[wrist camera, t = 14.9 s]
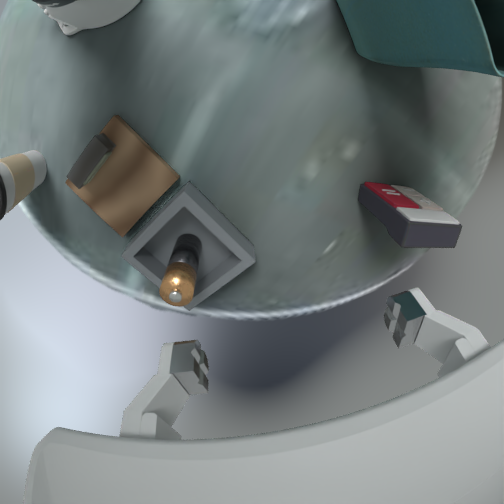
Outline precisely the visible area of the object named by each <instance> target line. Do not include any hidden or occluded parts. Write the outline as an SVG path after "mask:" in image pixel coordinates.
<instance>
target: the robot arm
mask: <svg viewBox="0 0 504 504" xmlns="http://www.w3.org/2000/svg"><path fill="white" fill-rule="evenodd" d="M32 1H34V2H36V3H37V4H38V6H39V7H41V8H42V9H45V10H44V13H45V14H47V15H49V17H50V18H51V19H53V20H56V21H57V23H58V24H59V26H60V28H61V30H62V31H63V33H64V34H66V35H68V36H69V35H72V34H75V33H77V32H79V31H81V30H83V29H91V28H98V27H102V26H105V25H108V24H110V23H112V22H115V21H116V20H118V19H120V18H121V17H123V16H124V15H126V14H127V13H128V12H130V11H131V10H132V9H133V8H134V7H135V6H136V5H137V4H138V3H139V2H140V1H141V0H32ZM67 25H68V26H67ZM386 304H387V305H388V307H387V309H386V310H385V313H384V321H385V324H386V327H387V329H388V330H389V331H391V332H392V333H393V340H394V341H395V343H396V345H397V347H398V348H402V347H405V346H407V345H410V344H413V343H414V344H415V345H416V346H418V347H419V348H421V349H422V350H424V351H425V352H427V353H428V354H430V355H431V356H432V357H434V358H435V359H437V360H438V361H440V362H441V363H443V365H442V367H441V368H440V370H439V372H438V376H439V378H438V379H436V380H434V381H432V382H429V383H427V384H425V385H423V386H421V387H419V388H417V389H414V390H412V391H410V392H408V393H405V394H403V395H400V396H398V397H395V398H393V399H391V400H388V401H386V402H382V403H380V404H377V405H374V406H371V407H369V408H366V409H363V410H359V411H356V412H353V413H350V414H347V415H343V416H340V417H337V418H333V419H329V420H325V421H321V422H318V423H314V424H309V425H305V426H300V427H295V428H290V429H285V430H280V431H274V432H268V433H261V434H254V435H246V436H238V437H227V438H214V439H194V440H181V435H180V434H179V433H178V432H176V431H175V430H174V429H173V428H172V425H173V423H174V422H175V420H176V418H177V417H178V415H179V413H180V411H181V410H182V409H183V407H184V405H185V404H186V402H187V400H188V399H189V397H190V396H189V395H196V394H205V393H208V379H207V377H206V374H207V373H208V371H209V366H208V359H207V356H206V354H205V352H204V351H203V350H201V344H200V342H199V341H198V340H191V341H183V342H174V343H164V344H163V346H162V349H161V355H160V361H159V367H158V374H157V375H154V376H153V377H152V378H151V380H150V381H149V382H148V383H147V385H146V386H145V387H144V388H143V389H142V390H141V392H140V393H139V394H138V395H137V396H136V397H135V399H134V400H133V401H132V402H131V403H130V404H129V406H128V407H127V408H126V409H125V411H124V413H123V418H122V424H121V430H120V437H115V436H106V435H100V434H93V433H87V432H81V431H76V430H70V429H66V428H61V427H57V428H54V429H53V430H51V431H50V432H49V433H48V434H47V435H46V436H45V437H44V438H43V439H42V440H41V441H40V442H39V443H38V444H37V446H36V447H35V449H34V452H33V454H32V457H31V461H30V465H29V470H28V474H27V479H26V485H25V492H24V500H23V504H504V339H503V340H501V341H500V342H498V343H497V344H496V345H494V346H493V347H490V345H489V344H488V342H487V341H486V340H485V338H484V337H483V335H482V334H481V332H480V331H479V330H478V329H477V328H476V327H473V326H471V325H469V324H467V323H465V322H463V321H461V320H459V319H456V318H455V317H452V316H450V315H448V314H446V313H444V312H442V311H440V310H437V311H436V310H435V309H434V307H433V306H432V305H431V303H430V302H429V301H428V299H427V298H426V297H425V296H424V294H423V293H422V292H421V290H420V289H419V288H414V289H411V290H408V291H404V292H401V293H399V294H395V295H392V296H389V297H388V298H387V302H386Z"/></svg>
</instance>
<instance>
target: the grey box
mask: <svg viewBox="0 0 504 504" xmlns="http://www.w3.org/2000/svg"><path fill="white" fill-rule="evenodd" d="M358 201H359V202H360V203H361V204H363V205H364V206H365V207H366V208H367V209H368V210H369V211H370V212H371V213H372V214H373V215H375V216H376V217H377V218H378V219H379V220H380V221H381V222H382V223H383V224H384V225H385V226H386V227H387V230H388V233H389V235H390V236H391V237H392V238H393V239H394V240H395V241H396V242H397V243H398V244H399V245H400V246H401V247H403V248H454V247H455V246H456V243H457V240H458V237H459V235H460V232H461V228H462V226H461V225H460V224H459V221H457V220H456V219H455V218H453V217H452V216H451V215H449V214H448V213H446V212H443V208H441V207H440V206H438V205H437V204H435V203H434V202H433V201H431V200H430V199H428V198H425V196H423V195H422V194H420V193H419V192H417V191H416V190H414V189H412V188H411V187H405V186H397V185H391V186H389V185H388V184H381V183H372V182H365V184H361V186H360V191H359V197H358Z"/></svg>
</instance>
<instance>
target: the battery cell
mask: <svg viewBox="0 0 504 504" xmlns="http://www.w3.org/2000/svg"><path fill="white" fill-rule="evenodd" d="M201 250H202V243H201V241H200V239H199V238H198V237H197V236H195V235H193V234H183V235H181V236H179V237H178V238H177V240H176V243H175V245H174V248H173V251H172V254H171V257H170V260H169V262H168V265H167V268H166V271H165V274H164V277H163V280H162V283H161V286H160V290H159V291H160V296H161V297H162V299H163V300H164V301H165V302H167V303H168V304H170V305H173V306H185V305H187V304H189V303H190V302H191V301H192V299H193V294H194V288H195V282H196V277H197V271H198V266H199V261H200V255H201Z"/></svg>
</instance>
